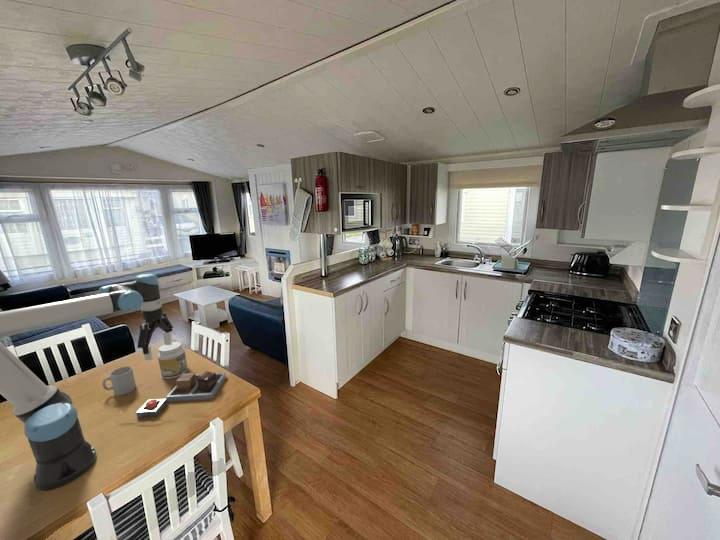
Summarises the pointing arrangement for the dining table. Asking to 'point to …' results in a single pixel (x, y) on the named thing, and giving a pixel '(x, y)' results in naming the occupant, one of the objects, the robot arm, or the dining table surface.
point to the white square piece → (145, 412)
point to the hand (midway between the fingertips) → (159, 351)
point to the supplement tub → (172, 360)
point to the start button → (151, 404)
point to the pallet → (196, 391)
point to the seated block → (186, 382)
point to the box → (207, 381)
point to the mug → (121, 381)
